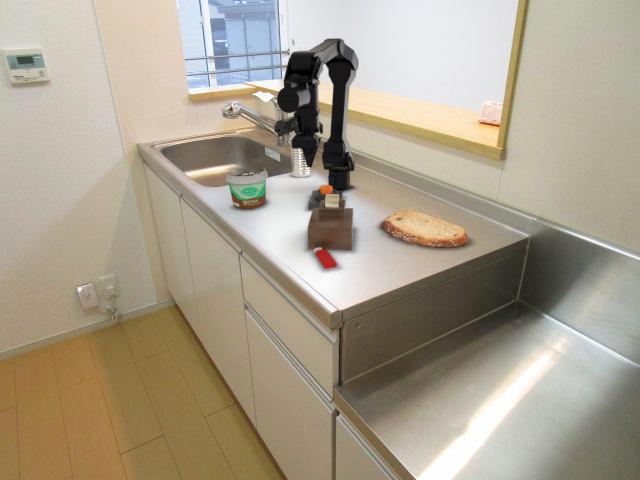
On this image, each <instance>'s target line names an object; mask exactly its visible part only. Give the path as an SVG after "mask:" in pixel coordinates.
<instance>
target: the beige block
mask: <svg viewBox="0 0 640 480" xmlns="http://www.w3.org/2000/svg"><path fill="white" fill-rule="evenodd" d="M325 207H339V194H326V197H325Z"/></svg>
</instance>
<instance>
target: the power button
mask: <svg viewBox="0 0 640 480" xmlns="http://www.w3.org/2000/svg"><path fill="white" fill-rule="evenodd" d="M319 189H320V194H331V193H332V186H330V185H328V184H323V185H320V186H319Z"/></svg>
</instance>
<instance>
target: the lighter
mask: <svg viewBox="0 0 640 480" xmlns="http://www.w3.org/2000/svg"><path fill="white" fill-rule="evenodd" d="M313 252H314V254H315V256H316V257H317V259H318V260H319V262H320V263H321V264H322V266H323V268H324V269H332V268H337V266H338V264H337V262H336V260H335V259H334V257H333V256H332V255H331V253H330V252H329V250H326V249H325V248H321V247H319V248H315V249H314V250H313Z"/></svg>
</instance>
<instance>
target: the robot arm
mask: <svg viewBox="0 0 640 480" xmlns="http://www.w3.org/2000/svg"><path fill="white" fill-rule="evenodd" d="M359 63H360V61H359V57H358V56H357V54H356V51H355V50H354V49H353V48H351V47H350V46H348V45H347V44H346V43H345V40H344V39H343V38H342V39H341V38H339V37H338V38H336V37H334V38H331V37H330V38H326V39H324V40H323V42H321V43H319V44H317V45H315V46H314V47H312V48H309V50H296V51H292V52H291V54H290V57H289V58H288V61H287V64H286V65H287V66H286V69H285V73H284V77H283V88H281V89H280V90H279V91H278V93H277V97H276V103H277V106H278V107H279V109H280V110H281V111H282V112H284V113H285V114H288V113H293V112H294V116H292V117H289V118H288V117H287V118H281V119H278V120H277V121H276V122H275V123H274V125H273V128H274V133H276V135H277V137H278V138H281V137H283V136H284V135H287V134H290V132H292V131H294V133H297V134H296V135H295V136H294V137H293V138H292V140H291V146H292V148H301V149H302V151H303V154H304V157H305V161H306V164H307V167H311V168H312V167H313V164H314V161H315V158H316V155H317V152H318V149H319V146H320V143H321V141H322V137H319V136H318V134H320V135H323V134H324V124H323V123H322V122H321V121H320V111H321V109H320V105H319V101H320V100H319V85H321V81H320V77H321V74H322V73H323V71H324V65H325V66H326V68H327V69H328V71H327V72H328V73H327V75H328V77H329V80H330V81H331V83H332V97H331V98H332V100H331V116H330V130H329V131H330V133H329V137H328V139H327V140H326V141H325V142H324V143H323V150H322V153H321V161H322V167H323V170H324V171H328V176H327V178H328V179H327V185H330V186H332V189H336V190H337V191H343V192H345V191H348V190H351V189H354V185H352V184H351V172H354V171H355V167H356V160H355V158H354V156H353V154H352V152H351V149H352V147H351V144H350V143H349V140H348V138H347V129H348V114H349V100H350V87H351V86H352V83H353V82H354V80H355V79H356V78H357V71H358V69H359Z"/></svg>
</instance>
